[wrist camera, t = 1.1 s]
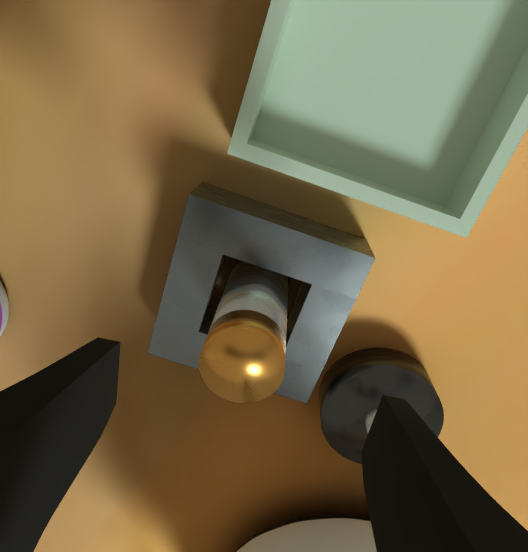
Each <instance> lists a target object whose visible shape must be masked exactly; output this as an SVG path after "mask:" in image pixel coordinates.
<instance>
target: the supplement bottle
mask: <svg viewBox="0 0 528 552" xmlns="http://www.w3.org/2000/svg"><path fill="white" fill-rule="evenodd" d="M8 317H9V302H8V297H7V294H6V291H5V289H4V287H3V285H2V283H1V281H0V336H1V335H2V333H3V331H4V330H5V327H6V325H7V321H8Z"/></svg>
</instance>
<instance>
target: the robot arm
mask: <svg viewBox="0 0 528 552" xmlns="http://www.w3.org/2000/svg"><path fill="white" fill-rule="evenodd" d="M119 354H120V342H117V341H112V340H107V339H102V338H97V339H95V340H93V341H91V342H89V343H88V344H86V345H84V346H82V347H81V348H79V349H77V350H76V351H74V352H72V353H71V354H69V355H67V356H65V357H64V358H62V359H60V360H59V361H57V362H55V363H53V364H51V365H50V366H48V367H46V368H44V369H43V370H41V371H39V372H37V373H35V374H34V375H32V376H30V377H28V378H26V379H24V380H22V381H20V382H18V383H16V384H14V385H12V386H10V387H8V388H6V389H4V390H2V391H0V552H33V551H34V549H35V547H36V545H37V543H38V541H39V539H40V537H41V535H42V533H43V531H44V529H45V528H46V526H47V524H48V522H49V520H50V519H51V517H52V515H53V513H54V512H55V510H56V509H57V507H58V505H59V504H60V502H61V500H62V499H63V497H64V496H65V494H66V492H67V491H68V489H69V487H70V486H71V484H72V483H73V481H74V479H75V478H76V476H77V474H78V473H79V471H80V470H81V468H82V466H83V465H84V463H85V462H86V460H87V458H88V457H89V455H90V453H91V452H92V450H93V448H94V447H95V445H96V443H97V442H98V440H99V438H100V437H101V435H102V433H103V430H104V428H105V426H106V424H107V422H108V420H109V418H110V415H111V413H112V411H113V408H114V406H115V404H116V398H117V383H118V369H119ZM362 467H363V480H364V490H365V495H366V500H367V505H368V511H369V516H370V521H371V526H372V531H373V535H374V540H375V545H376V550H377V552H528V531H527V530H526V529H525V528H524V527H523V526H522V525H521V524H519V523H518V522H517V521H516V520H515V519H514V518H513V517H512V516H511V515H510V514H509V513H508V512H507V511H505V510H504V509H503V508H502V507H501V506H500V505H499V504H498V503H497V502H496V501H495V500H494V499H493V498H492V497H491V496H490V495H489V494H488V493H487V492H486V491H485V490H484V489H483V488H482V486H481V485H480V484H479V483H478V482H477V481H476V480H475V479H474V478H473V477H472V476H471V475H470V474H469V473H468V472H467V471H466V469H465V468H464V467H463V466H462V465H461V464H460V463H459V462H458V461H457V459H456V458H455V457H454V456H453V455H452V454H451V453H450V451H449V450H448V449H447V448H446V447H445V446H444V444H443V443H442V442H441V441H440V440H439V439H438V437H437V436H436V435H435V434H434V433H433V431H432V430H431V429H430V428H429V427H428V425H427V424H426V423H425V422H424V421H423V419H422V418H421V417H420V416H419V415H418V413H417V412H416V411H415V410H414V409H413V408H412V406H411V405H410V404H409V403H408V402H407V401H406V400H405V399H402V398H397V397H392V396H387V395H382V398H381V401H380V403H379V406H378V409H377V411H376V414H375V417H374V419H373V422H372V425H371V427H370V430H369V433H368V435H367V438H366V441H365V443H364V446H363V449H362Z"/></svg>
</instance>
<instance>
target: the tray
mask: <svg viewBox="0 0 528 552" xmlns="http://www.w3.org/2000/svg"><path fill="white" fill-rule="evenodd" d="M527 128H528V0H271V3H270V7H269V10H268V13H267V17H266V20H265V24H264V27H263V31H262V34H261V38H260V41H259V45H258V48H257V52H256V55H255V58H254V62H253V65H252V69H251V72H250V76H249V79H248V83H247V86H246V90H245V93H244V97H243V100H242V104H241V107H240V110H239V114H238V117H237V121H236V124H235V128H234V131H233V135H232V138H231V142H230V145H229V149H228V152H227V154H230V155H232V156H235V157H238V158H241V159H244V160H247V161H249V162H252V163H255V164H258V165H261V166H264V167H266V168H269V169H272V170H275V171H278V172H281V173H284V174H286V175H289V176H292V177H295V178H298V179H301V180H303V181H306V182H309V183H312V184H315V185H318V186H321V187H323V188H326V189H329V190H332V191H335V192H338V193H340V194H343V195H346V196H349V197H352V198H355V199H357V200H360V201H363V202H366V203H369V204H372V205H375V206H377V207H380V208H383V209H386V210H389V211H392V212H394V213H397V214H400V215H403V216H406V217H409V218H411V219H414V220H417V221H420V222H423V223H426V224H429V225H431V226H434V227H437V228H440V229H443V230H446V231H448V232H451V233H454V234H457V235H460V236H463V237H466V238H467V236H468V234H469V233H470V231H471V229H472V227H473V225H474V224H475V222H476V220H477V218H478V216H479V215H480V213H481V211H482V209H483V207H484V206H485V204H486V202H487V200H488V198H489V197H490V195H491V193H492V191H493V189H494V188H495V186H496V184H497V182H498V180H499V179H500V177H501V175H502V173H503V171H504V170H505V168H506V166H507V164H508V162H509V161H510V159H511V157H512V155H513V153H514V152H515V150H516V148H517V146H518V144H519V143H520V141H521V139H522V137H523V135H524V134H525V132H526V130H527Z"/></svg>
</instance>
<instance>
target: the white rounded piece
mask: <svg viewBox="0 0 528 552" xmlns="http://www.w3.org/2000/svg"><path fill="white" fill-rule="evenodd" d="M235 552H377V550H376V545H375V540H374V535H373V531H372V526H371V521H370V518H365V517H358V516H351V515H345V514H340V515H329V516H317V517H304V518H299V519H296V520H292V521H289V522H286V523H283V524H280V525H277V526H275V527H272V528H269V529H267V530H265V531H262V532H260V533H258V534H257V535H255V536H254V537H252V538H251V539H249V540H248V541H247V542H246V543H244V544H243V545H242V546H241V547H240V548H238V549H237V550H236V551H235Z"/></svg>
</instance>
